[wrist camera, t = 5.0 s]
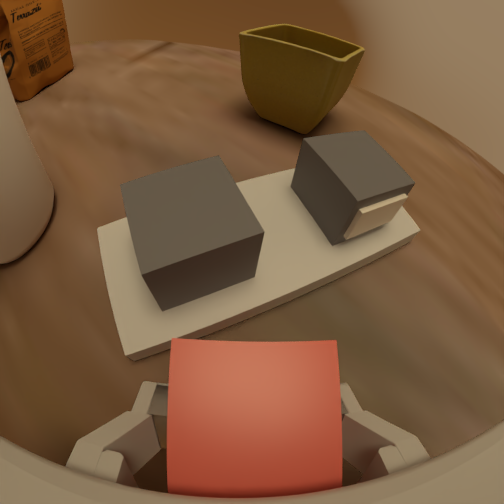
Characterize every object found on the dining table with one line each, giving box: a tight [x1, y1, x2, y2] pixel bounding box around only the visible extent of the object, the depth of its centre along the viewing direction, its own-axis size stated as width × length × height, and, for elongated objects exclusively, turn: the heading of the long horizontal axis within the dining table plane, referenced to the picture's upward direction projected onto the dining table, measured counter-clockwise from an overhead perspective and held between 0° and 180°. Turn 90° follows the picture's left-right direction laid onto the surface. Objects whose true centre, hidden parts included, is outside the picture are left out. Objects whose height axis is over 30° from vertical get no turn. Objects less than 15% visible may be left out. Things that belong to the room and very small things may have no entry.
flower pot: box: [239, 24, 365, 134], centre depth 22 cm, size 9×9×9 cm
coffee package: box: [0, 0, 74, 101], centre depth 22 cm, size 10×12×22 cm
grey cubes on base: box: [97, 131, 420, 361], centre depth 15 cm, size 20×8×6 cm, turn 115°
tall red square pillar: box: [167, 338, 342, 498], centre depth 9 cm, size 4×4×8 cm
